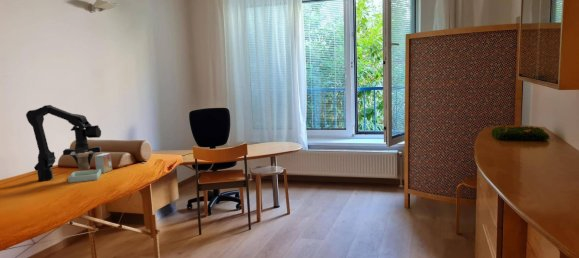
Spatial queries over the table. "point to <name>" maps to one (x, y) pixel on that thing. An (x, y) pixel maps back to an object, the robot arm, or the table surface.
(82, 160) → the walnut block
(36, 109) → the robot arm
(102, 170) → the small box
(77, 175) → the tray
